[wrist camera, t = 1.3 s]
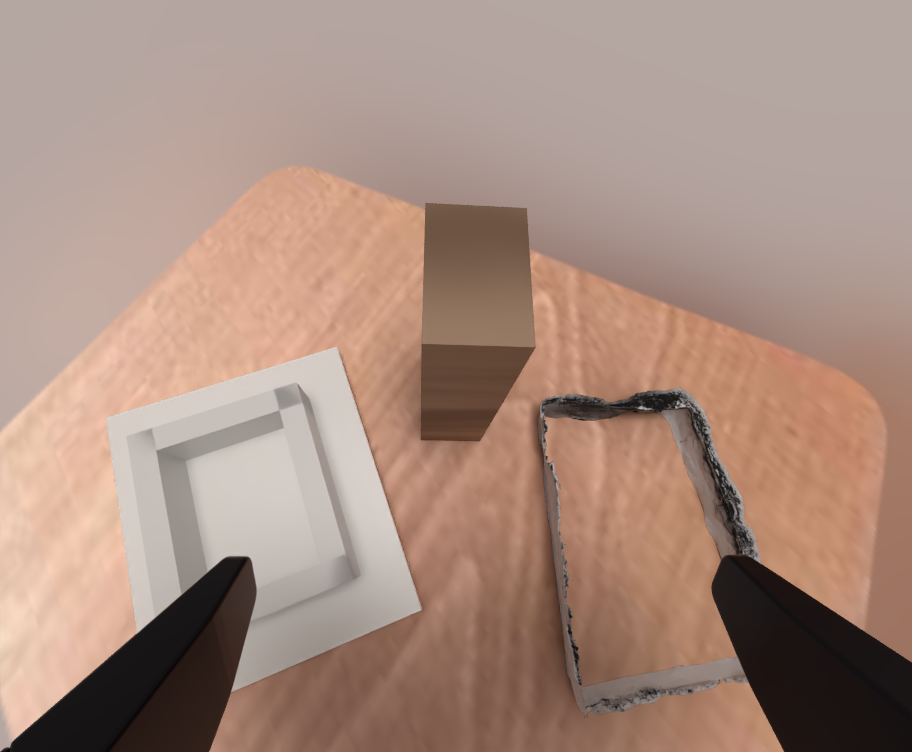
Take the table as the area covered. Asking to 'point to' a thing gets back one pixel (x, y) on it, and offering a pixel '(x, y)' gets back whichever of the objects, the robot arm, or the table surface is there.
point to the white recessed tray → (263, 508)
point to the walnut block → (473, 316)
